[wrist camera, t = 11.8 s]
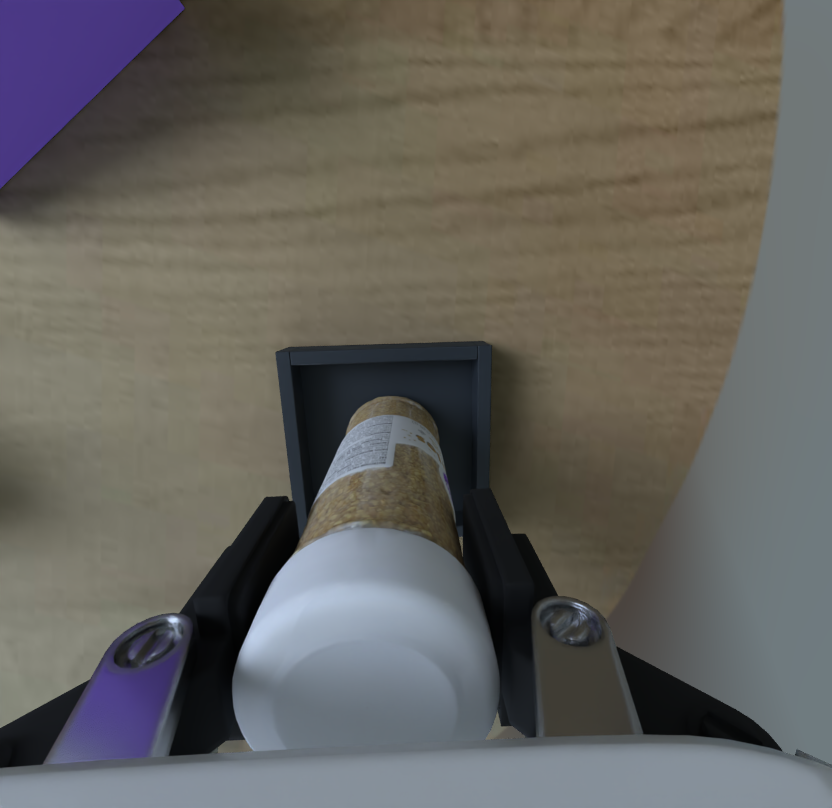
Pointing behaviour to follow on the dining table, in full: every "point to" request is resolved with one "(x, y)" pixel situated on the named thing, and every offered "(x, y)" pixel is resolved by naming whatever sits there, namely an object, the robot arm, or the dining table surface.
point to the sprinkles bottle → (372, 606)
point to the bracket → (64, 63)
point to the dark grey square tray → (376, 377)
